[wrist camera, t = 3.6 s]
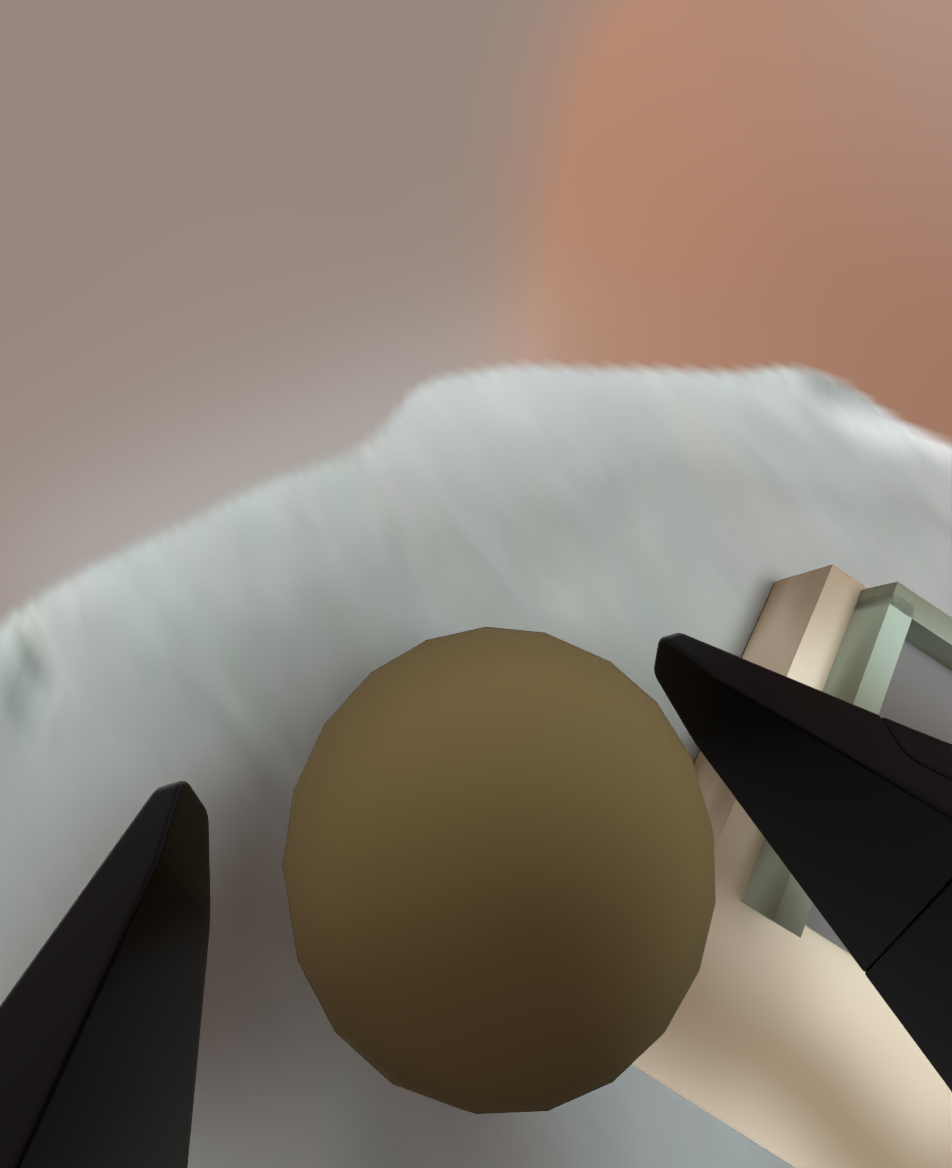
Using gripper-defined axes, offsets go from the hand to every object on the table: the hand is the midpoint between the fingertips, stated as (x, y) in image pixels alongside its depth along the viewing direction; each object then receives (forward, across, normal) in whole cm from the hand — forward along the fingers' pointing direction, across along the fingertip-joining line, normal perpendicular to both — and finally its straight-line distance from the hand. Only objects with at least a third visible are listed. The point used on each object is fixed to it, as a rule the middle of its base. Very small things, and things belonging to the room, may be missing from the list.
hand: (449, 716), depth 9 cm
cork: (+4, 0, +6) cm, 7 cm away
